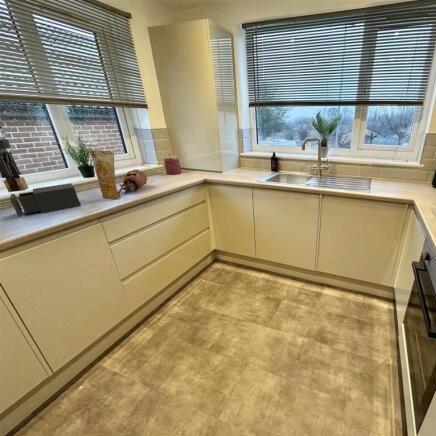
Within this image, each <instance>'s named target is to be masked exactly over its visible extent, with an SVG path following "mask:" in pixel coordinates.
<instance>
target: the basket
mask: <svg viewBox="0 0 436 436" xmlns="http://www.w3.org/2000/svg"><path fill="white" fill-rule="evenodd" d="M18 196H19V197H17V196H16V194H15V193H11V194H10V197H9V201H4V202H0V208H4V207H9V206H12V207H13V208H14V210H15V212H16V214H17V216H18V217H21V216H23V212H24V214H26V215H27V214H30V213H35V212H41V210H40V208H39V206H38V204H37V201H36V199H35V197H34V195H33V191H28V192H21V193H18Z"/></svg>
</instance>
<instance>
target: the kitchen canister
mask: <svg viewBox="0 0 436 436" xmlns="http://www.w3.org/2000/svg"><path fill="white" fill-rule="evenodd" d="M162 162H164V164H163V165H164V169H165V174H166V175H168V176H171V175H173V176H174V175H180V174H182V166H181V162H180V159H179V157H178V156H177V155H175V154H174V155H173V153H171V152H169V153H168V155H165V156H164V157H163V161H162Z"/></svg>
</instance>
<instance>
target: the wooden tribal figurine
mask: <svg viewBox="0 0 436 436" xmlns="http://www.w3.org/2000/svg"><path fill="white" fill-rule="evenodd" d="M147 181H148V176H147V175H146V174H145V172H144V171H140V169H132V170H129V171H127V173H126V174H125V176H124V177H123V181H122V184H119V187H120V188H119V190H118V194H119V195H120V194H121V192H122V191H123V190H124V193H125V194H128V193H133V192H137V191H139V190H140V189H141V188H142V187H143V186H145V185H147Z"/></svg>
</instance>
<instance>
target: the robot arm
mask: <svg viewBox="0 0 436 436" xmlns="http://www.w3.org/2000/svg"><path fill="white" fill-rule="evenodd" d="M6 134H7V132H6V131H5V130H4V129H3V126H2V124H1V123H0V175H1V178H2V179H5V180H7V182H8V184H9V187H10V189H11V191H12V192H11V193H14V191H16V192H21V191H20V188H19V186H18V184H17V182H16V180H15V178H21V176H20V175H22V172H21V171H20V169H19V167H18V165H17V163H16V161H15V158H14V156H13V153H12V151H8V149H10V148H11V147H12V146H11V144H10V141H9V139H7V135H6Z"/></svg>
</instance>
